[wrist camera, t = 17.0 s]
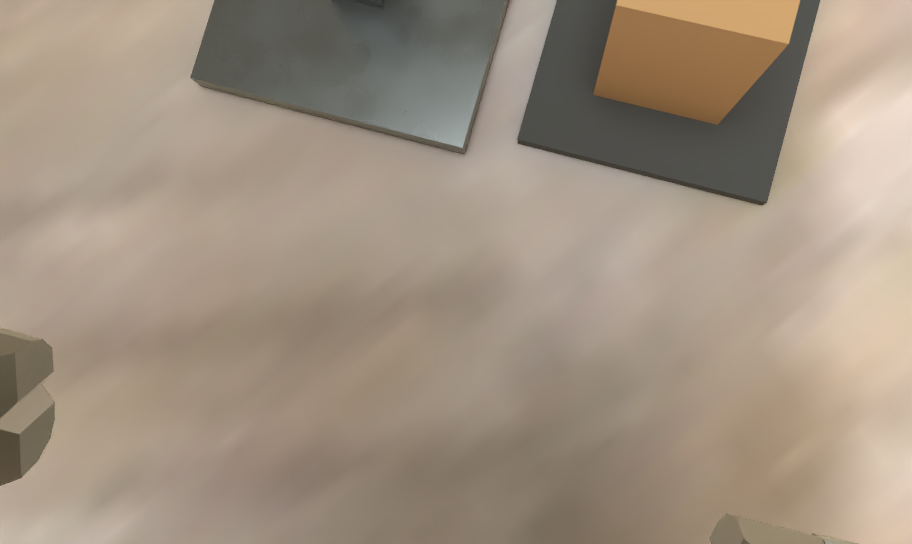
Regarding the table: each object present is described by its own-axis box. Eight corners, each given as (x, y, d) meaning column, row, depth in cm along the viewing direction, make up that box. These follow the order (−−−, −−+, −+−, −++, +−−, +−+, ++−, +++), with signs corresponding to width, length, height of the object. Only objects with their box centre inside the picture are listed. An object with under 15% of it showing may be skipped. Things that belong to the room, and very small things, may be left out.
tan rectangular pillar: (593, 95, 29) (616, 5, 21) (625, -22, 29) (660, -153, 22) (717, 124, 29) (788, 43, 21) (749, 5, 29) (832, -120, 21)
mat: (517, 143, 30) (517, 139, 29) (582, -83, 31) (583, -92, 30) (762, 205, 29) (766, 202, 28) (824, -32, 29) (830, -39, 29)
